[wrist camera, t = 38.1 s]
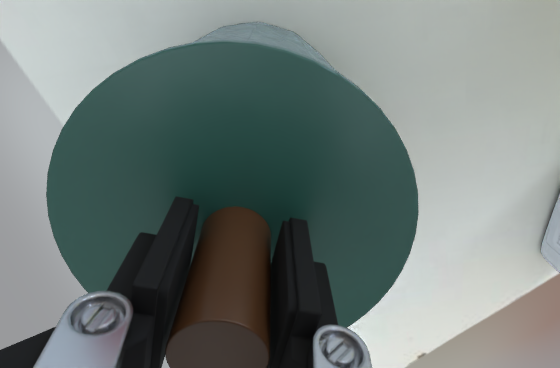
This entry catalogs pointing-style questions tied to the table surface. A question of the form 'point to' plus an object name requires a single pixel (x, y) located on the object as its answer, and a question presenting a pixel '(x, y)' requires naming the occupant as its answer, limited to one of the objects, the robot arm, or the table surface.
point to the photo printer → (553, 239)
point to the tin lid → (234, 186)
